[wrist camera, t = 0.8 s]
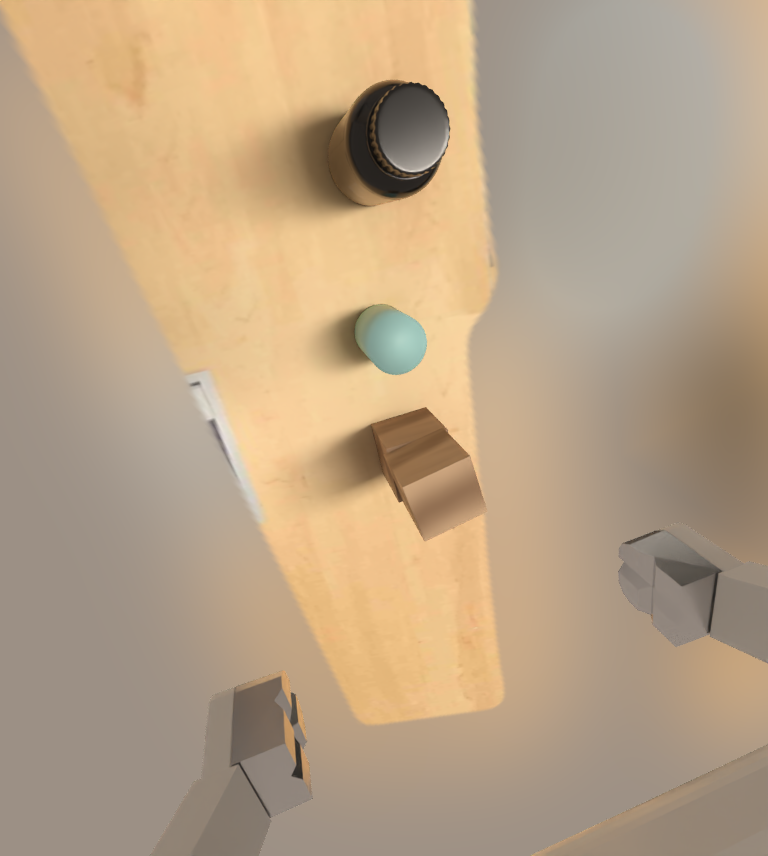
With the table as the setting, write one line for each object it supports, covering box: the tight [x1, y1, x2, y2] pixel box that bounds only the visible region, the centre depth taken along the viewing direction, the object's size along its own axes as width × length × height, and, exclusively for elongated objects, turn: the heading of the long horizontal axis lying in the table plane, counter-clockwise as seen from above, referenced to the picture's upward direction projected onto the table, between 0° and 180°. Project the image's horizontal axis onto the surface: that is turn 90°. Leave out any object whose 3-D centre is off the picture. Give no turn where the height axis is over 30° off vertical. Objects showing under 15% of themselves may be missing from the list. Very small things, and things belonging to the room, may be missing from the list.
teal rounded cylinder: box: [354, 304, 427, 375], centre depth 41 cm, size 5×5×6 cm
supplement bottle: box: [328, 80, 450, 206], centre depth 32 cm, size 7×7×12 cm
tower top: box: [384, 428, 487, 541], centre depth 41 cm, size 6×6×6 cm
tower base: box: [371, 407, 448, 502], centre depth 46 cm, size 6×6×6 cm
